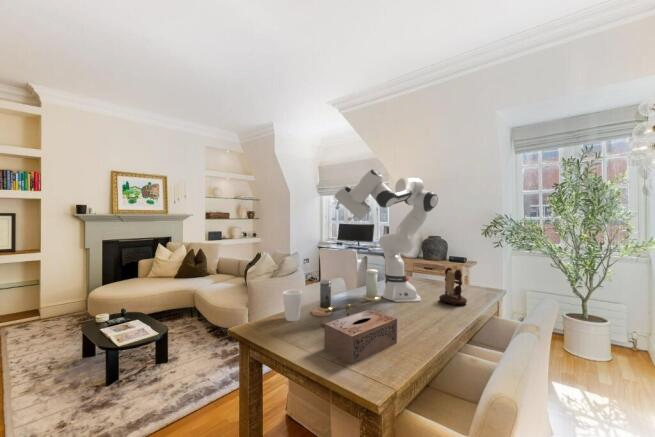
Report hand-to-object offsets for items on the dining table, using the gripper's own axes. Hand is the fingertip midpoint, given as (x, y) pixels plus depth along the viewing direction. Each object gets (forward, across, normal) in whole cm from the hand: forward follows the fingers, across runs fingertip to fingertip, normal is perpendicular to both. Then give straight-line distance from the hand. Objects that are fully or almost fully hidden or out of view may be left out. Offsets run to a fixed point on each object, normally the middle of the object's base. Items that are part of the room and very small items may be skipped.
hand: (342, 214), depth 158 cm
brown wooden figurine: (+3, -80, -26) cm, 84 cm away
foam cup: (+44, -20, +36) cm, 60 cm away
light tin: (+10, -39, +27) cm, 49 cm away
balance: (+27, -41, +32) cm, 58 cm away
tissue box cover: (+18, -48, +49) cm, 71 cm away
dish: (+39, -28, +22) cm, 53 cm away
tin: (+27, -28, +34) cm, 51 cm away
